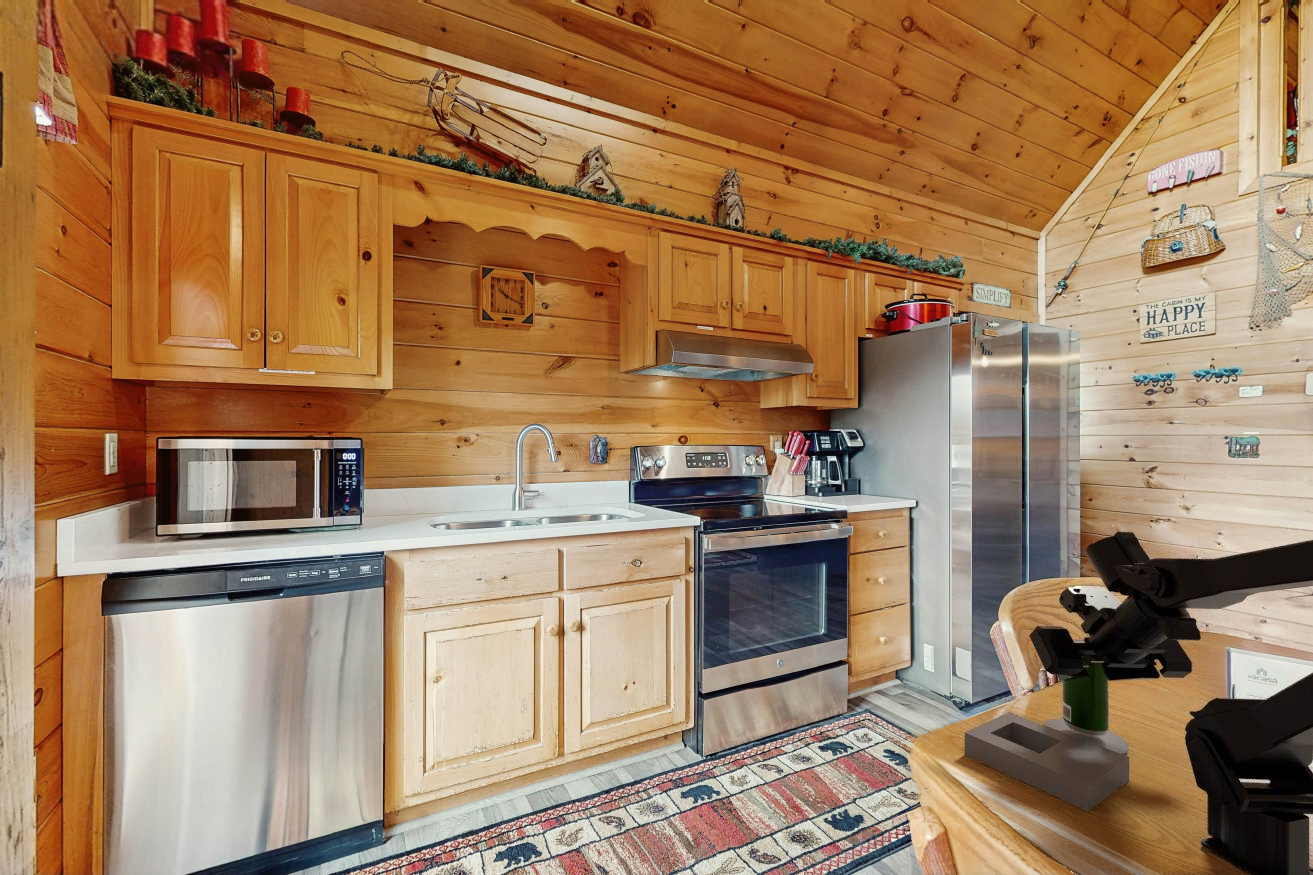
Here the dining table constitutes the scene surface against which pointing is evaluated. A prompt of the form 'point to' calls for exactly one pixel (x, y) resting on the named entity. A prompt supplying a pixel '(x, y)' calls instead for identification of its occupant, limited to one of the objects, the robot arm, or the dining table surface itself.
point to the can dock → (1048, 759)
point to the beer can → (1088, 700)
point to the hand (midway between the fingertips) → (1078, 677)
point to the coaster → (1092, 736)
